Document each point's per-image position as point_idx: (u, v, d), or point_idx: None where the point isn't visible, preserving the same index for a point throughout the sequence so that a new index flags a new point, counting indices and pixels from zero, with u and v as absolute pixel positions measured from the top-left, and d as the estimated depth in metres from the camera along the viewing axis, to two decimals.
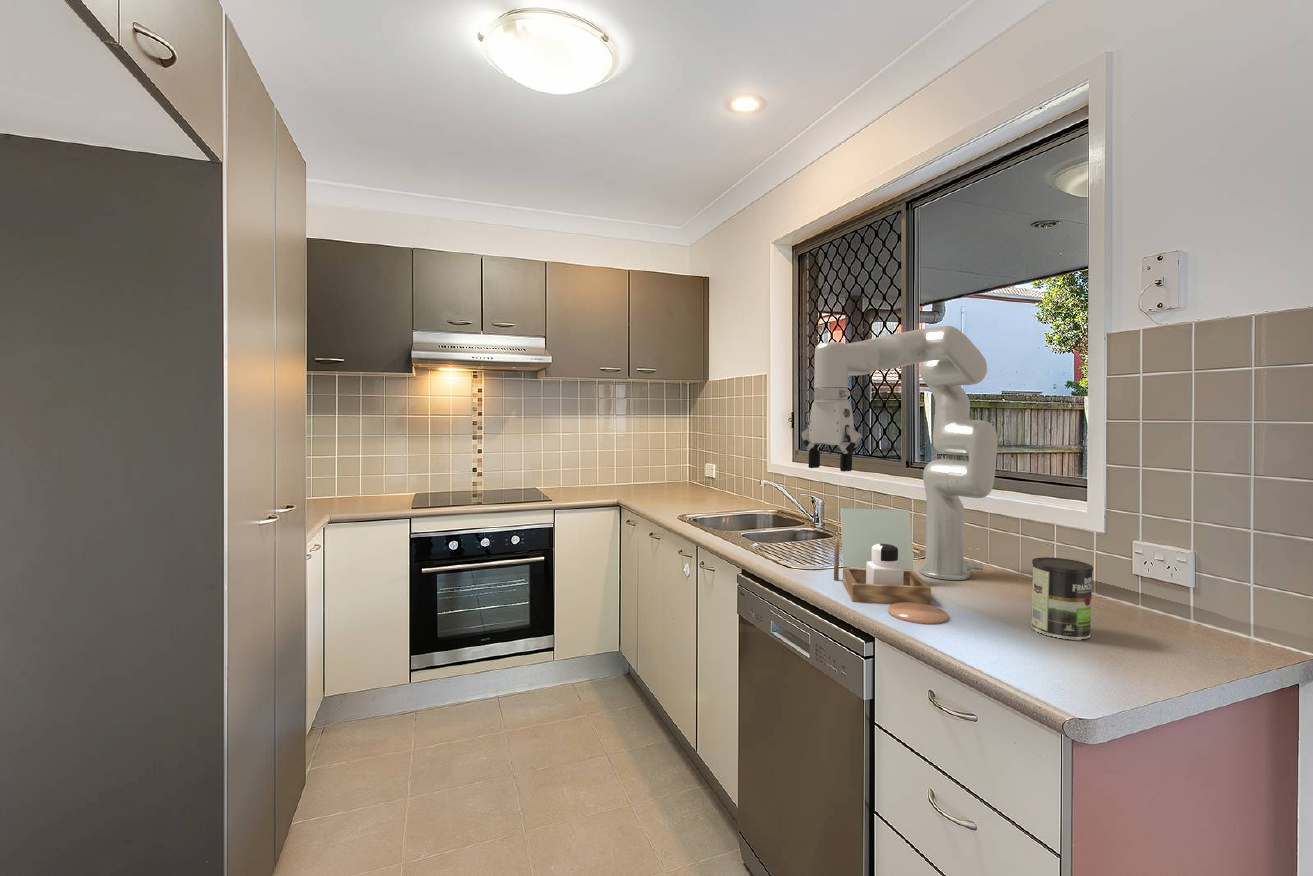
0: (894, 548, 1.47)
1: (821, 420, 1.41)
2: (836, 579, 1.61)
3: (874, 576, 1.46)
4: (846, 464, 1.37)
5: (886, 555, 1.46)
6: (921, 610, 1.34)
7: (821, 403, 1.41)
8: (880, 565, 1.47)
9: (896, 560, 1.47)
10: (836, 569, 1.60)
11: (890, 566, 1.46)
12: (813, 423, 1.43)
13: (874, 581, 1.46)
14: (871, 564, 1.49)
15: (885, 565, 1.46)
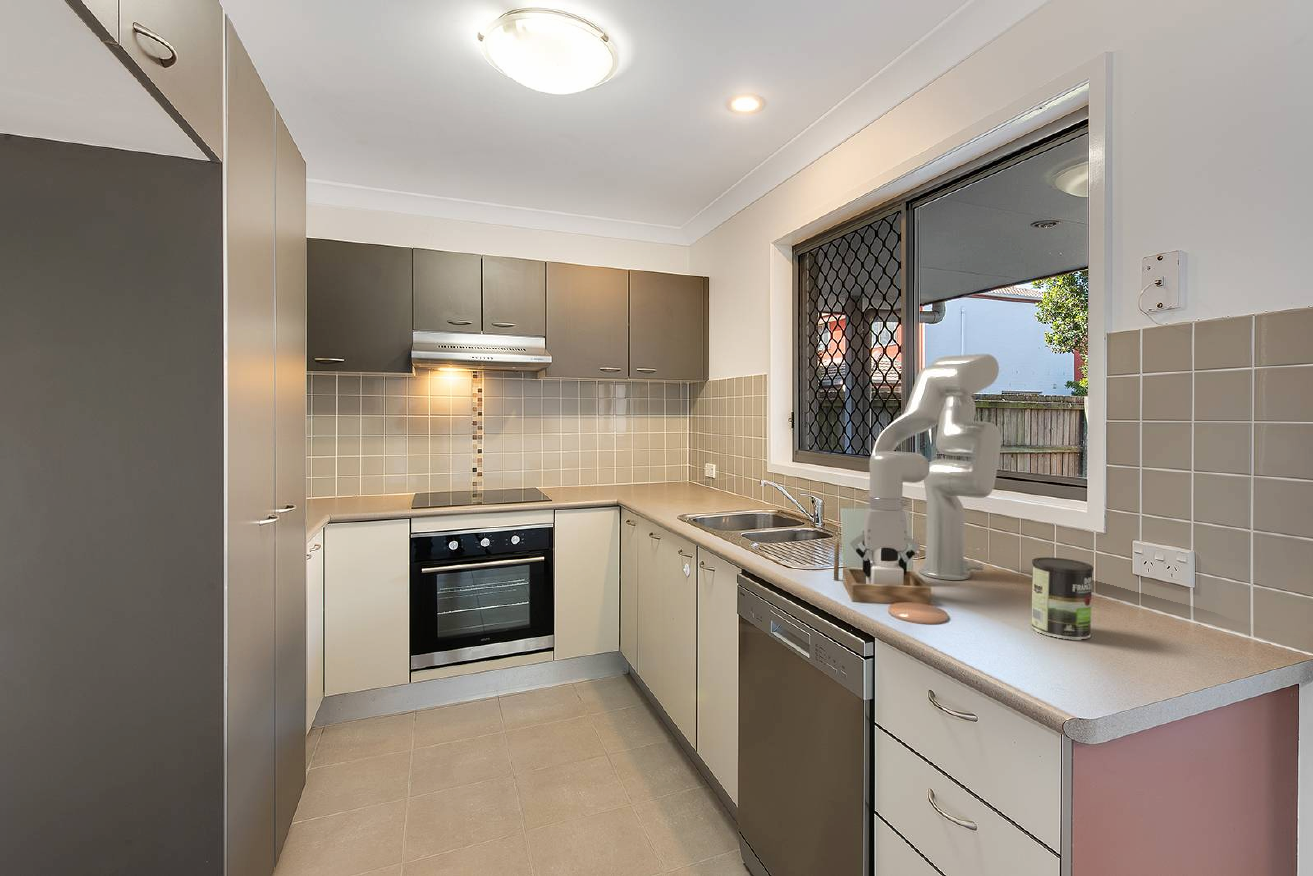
0: None
1: (885, 529, 1.46)
2: (836, 579, 1.61)
3: (874, 576, 1.46)
4: (905, 571, 1.47)
5: (886, 555, 1.46)
6: (921, 610, 1.34)
7: (885, 513, 1.46)
8: (880, 565, 1.47)
9: (896, 560, 1.47)
10: (836, 569, 1.60)
11: (890, 566, 1.46)
12: (873, 532, 1.47)
13: (874, 581, 1.46)
14: (871, 564, 1.49)
15: (885, 565, 1.46)
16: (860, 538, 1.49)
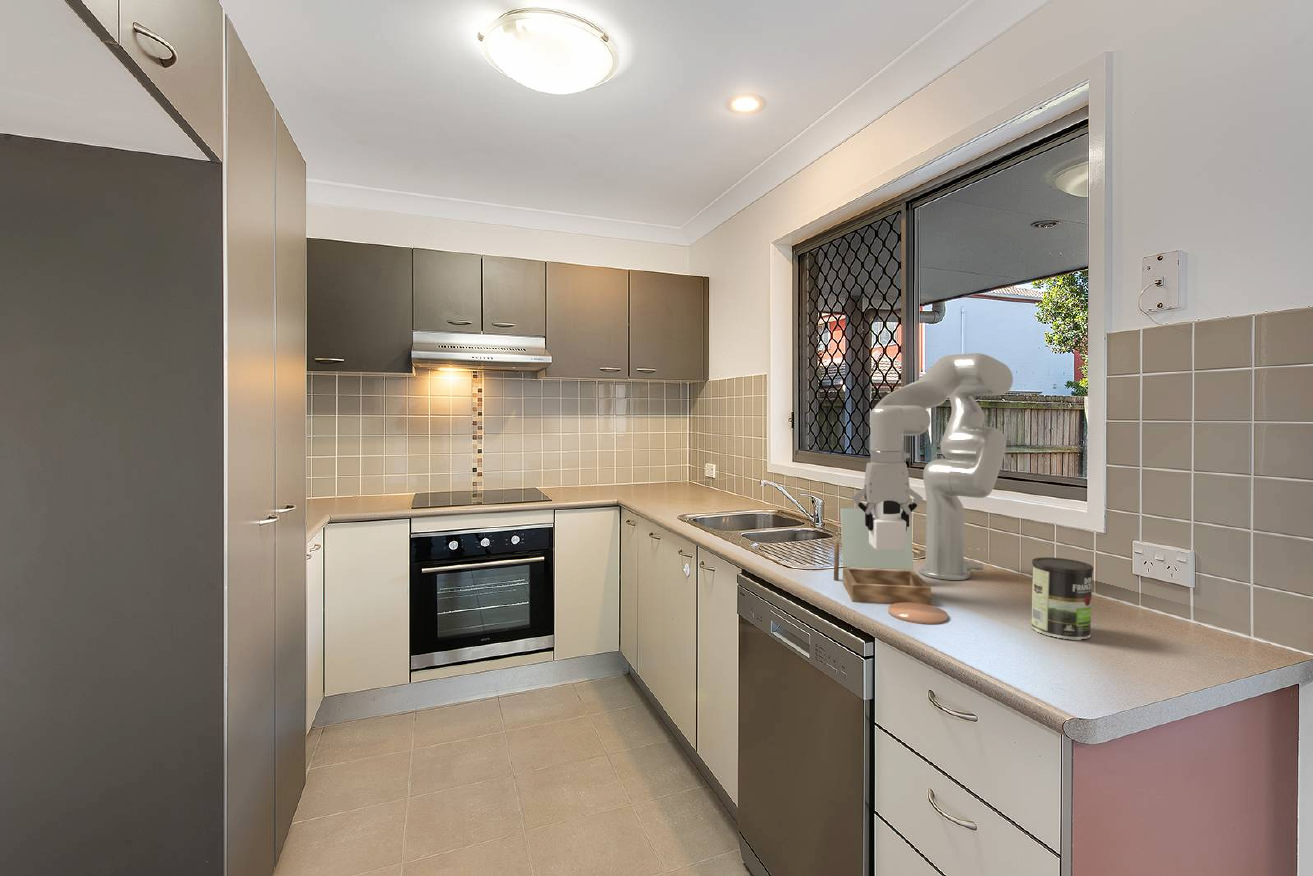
0: None
1: (887, 482, 1.46)
2: (836, 579, 1.61)
3: (877, 529, 1.46)
4: (908, 523, 1.47)
5: (888, 508, 1.46)
6: (921, 610, 1.34)
7: (887, 465, 1.45)
8: (883, 518, 1.47)
9: (898, 513, 1.46)
10: (836, 569, 1.60)
11: (893, 519, 1.46)
12: (875, 485, 1.46)
13: (877, 534, 1.46)
14: (873, 518, 1.49)
15: (888, 518, 1.46)
16: (862, 492, 1.49)
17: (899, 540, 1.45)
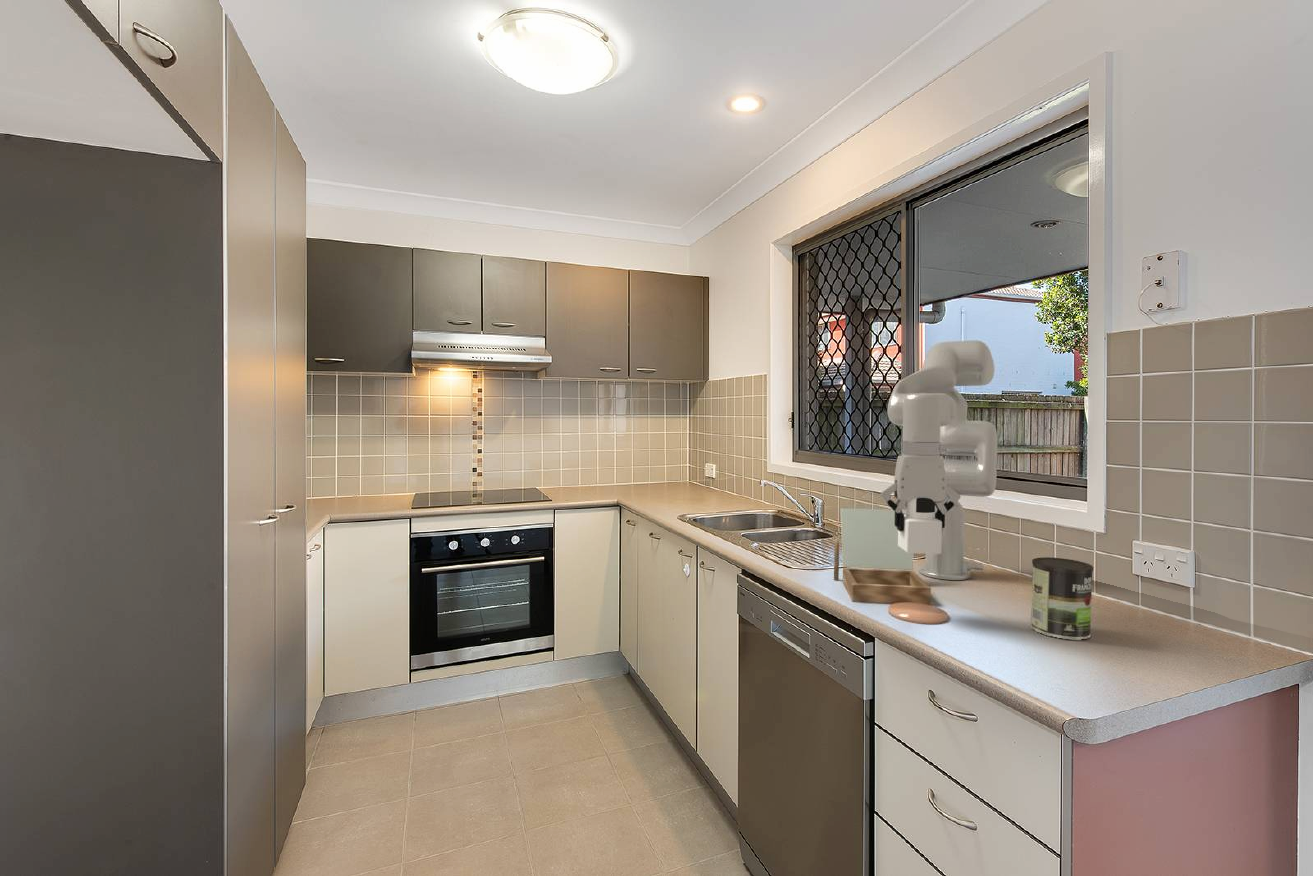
0: None
1: (921, 476, 1.30)
2: (836, 579, 1.61)
3: (909, 529, 1.30)
4: (943, 524, 1.31)
5: (922, 506, 1.30)
6: (921, 610, 1.34)
7: (921, 458, 1.30)
8: (915, 517, 1.31)
9: (933, 512, 1.31)
10: (836, 569, 1.60)
11: (926, 518, 1.30)
12: (908, 480, 1.31)
13: (909, 535, 1.30)
14: (904, 517, 1.33)
15: (921, 517, 1.30)
16: (892, 488, 1.33)
17: (934, 542, 1.29)
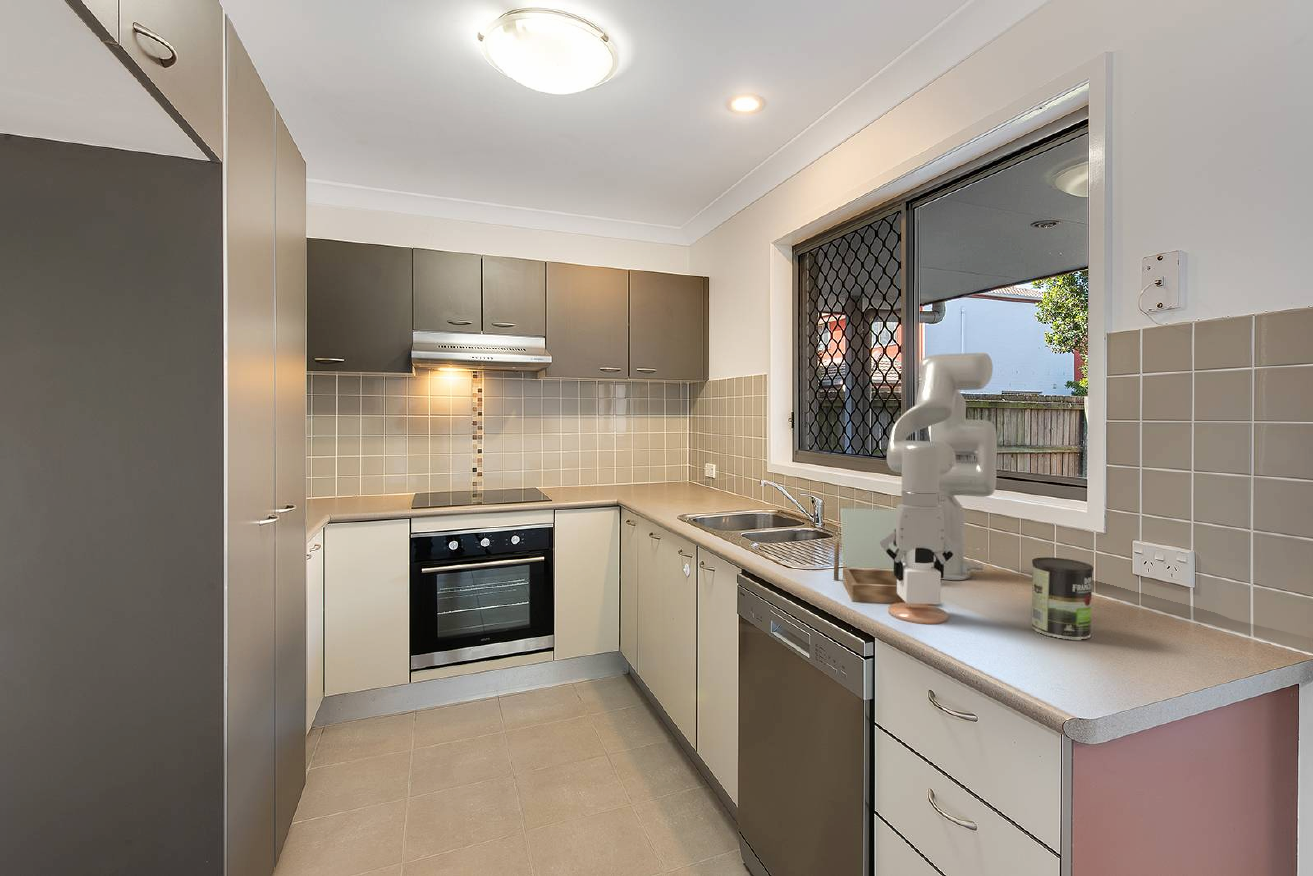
0: None
1: (920, 527, 1.30)
2: (836, 579, 1.61)
3: (908, 580, 1.30)
4: (942, 574, 1.32)
5: (921, 557, 1.30)
6: (921, 610, 1.34)
7: (920, 509, 1.30)
8: (914, 567, 1.31)
9: (932, 562, 1.31)
10: (836, 569, 1.60)
11: (925, 568, 1.30)
12: (907, 530, 1.31)
13: (908, 585, 1.30)
14: (903, 566, 1.33)
15: (920, 567, 1.31)
16: (891, 537, 1.33)
17: (933, 592, 1.30)
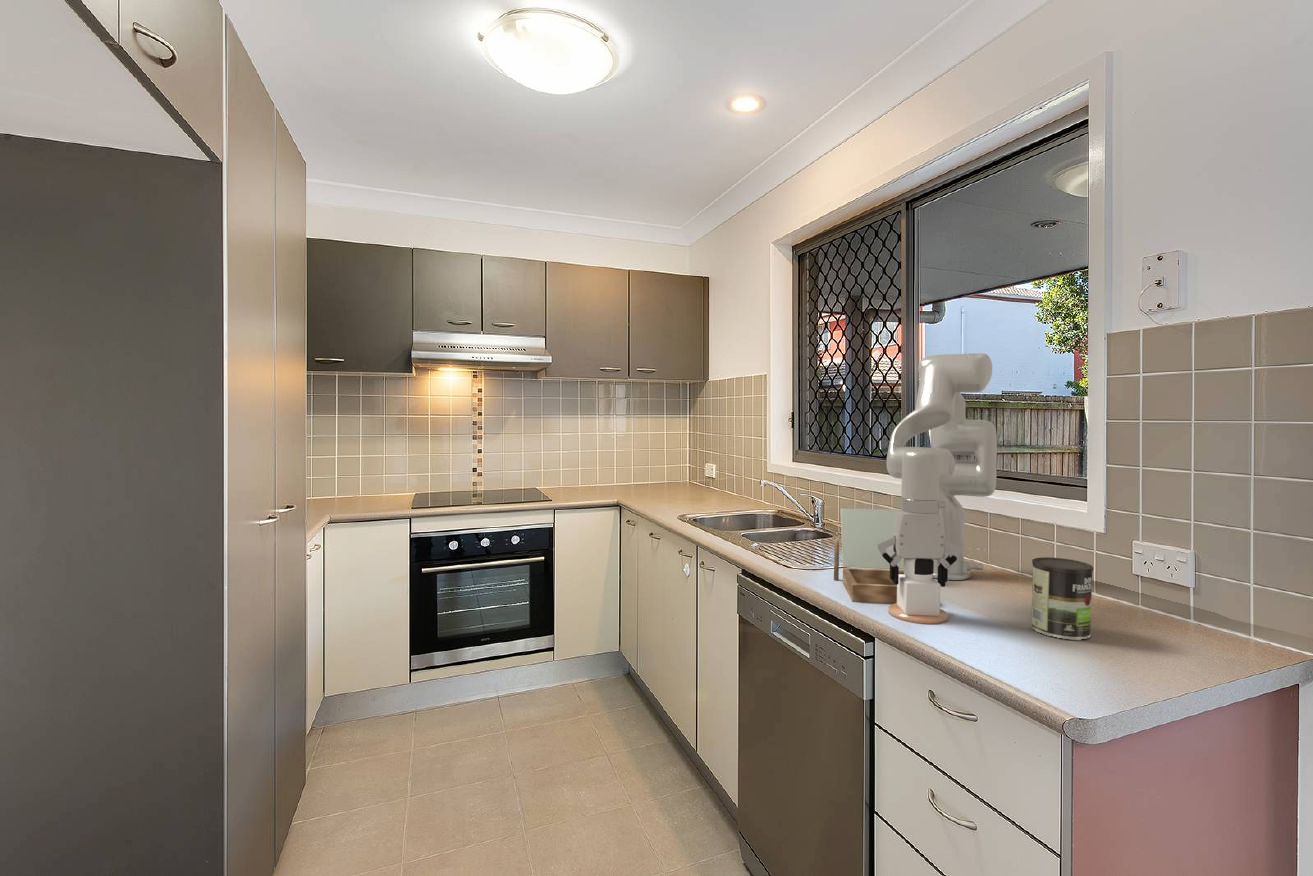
0: (929, 560, 1.31)
1: (920, 534, 1.30)
2: (836, 579, 1.61)
3: (907, 591, 1.30)
4: (946, 578, 1.32)
5: (920, 568, 1.30)
6: None
7: (920, 516, 1.30)
8: (914, 579, 1.32)
9: (932, 573, 1.31)
10: (836, 569, 1.60)
11: (925, 580, 1.31)
12: (906, 537, 1.31)
13: (907, 597, 1.31)
14: (903, 578, 1.34)
15: (919, 579, 1.31)
16: (890, 542, 1.33)
17: (932, 604, 1.30)
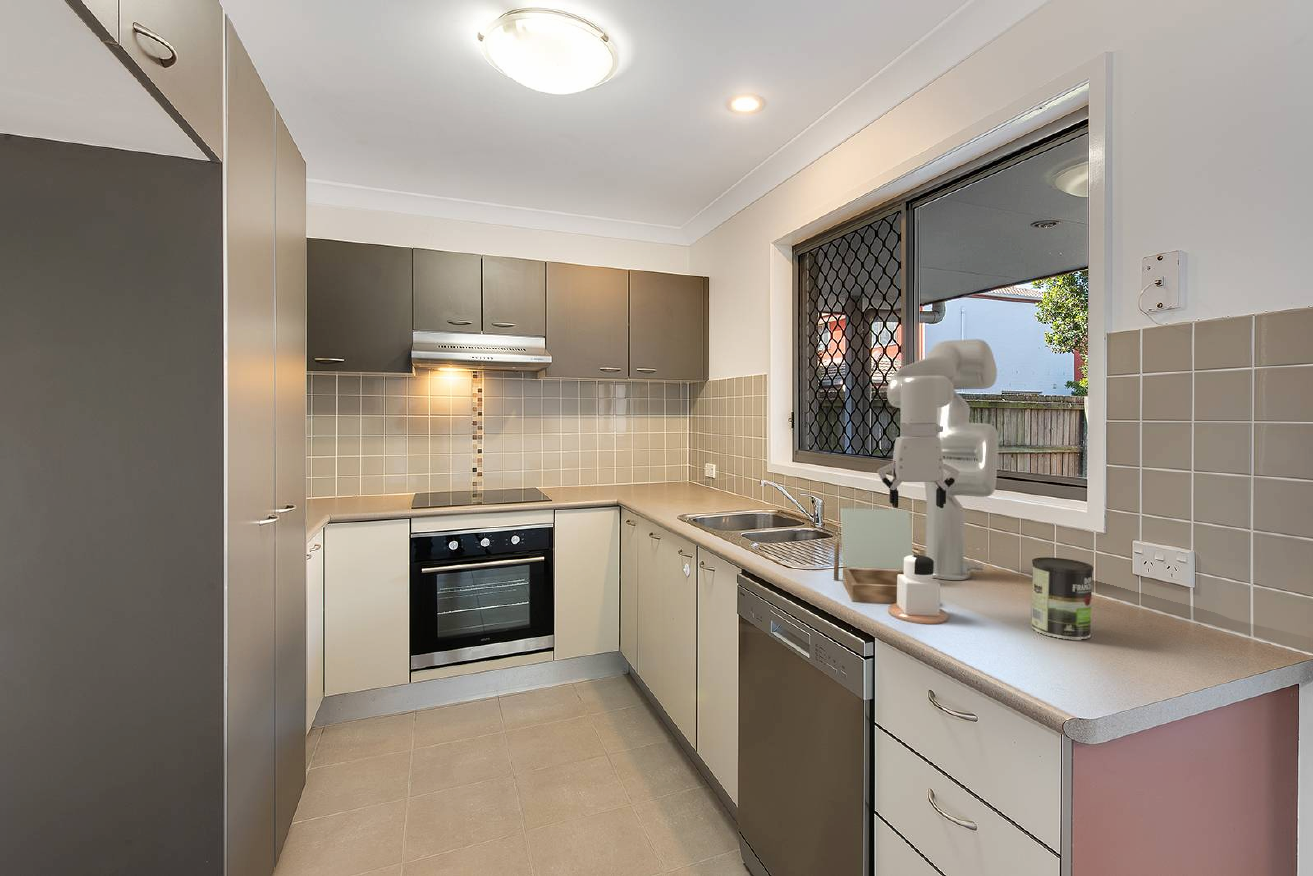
0: (929, 560, 1.31)
1: (919, 457, 1.34)
2: (836, 579, 1.61)
3: (907, 591, 1.30)
4: (944, 500, 1.36)
5: (920, 568, 1.30)
6: None
7: (919, 439, 1.34)
8: (914, 579, 1.31)
9: (932, 573, 1.31)
10: (836, 569, 1.60)
11: (925, 580, 1.31)
12: (906, 460, 1.35)
13: (907, 597, 1.31)
14: (903, 578, 1.34)
15: (919, 579, 1.31)
16: (890, 466, 1.37)
17: (932, 604, 1.30)
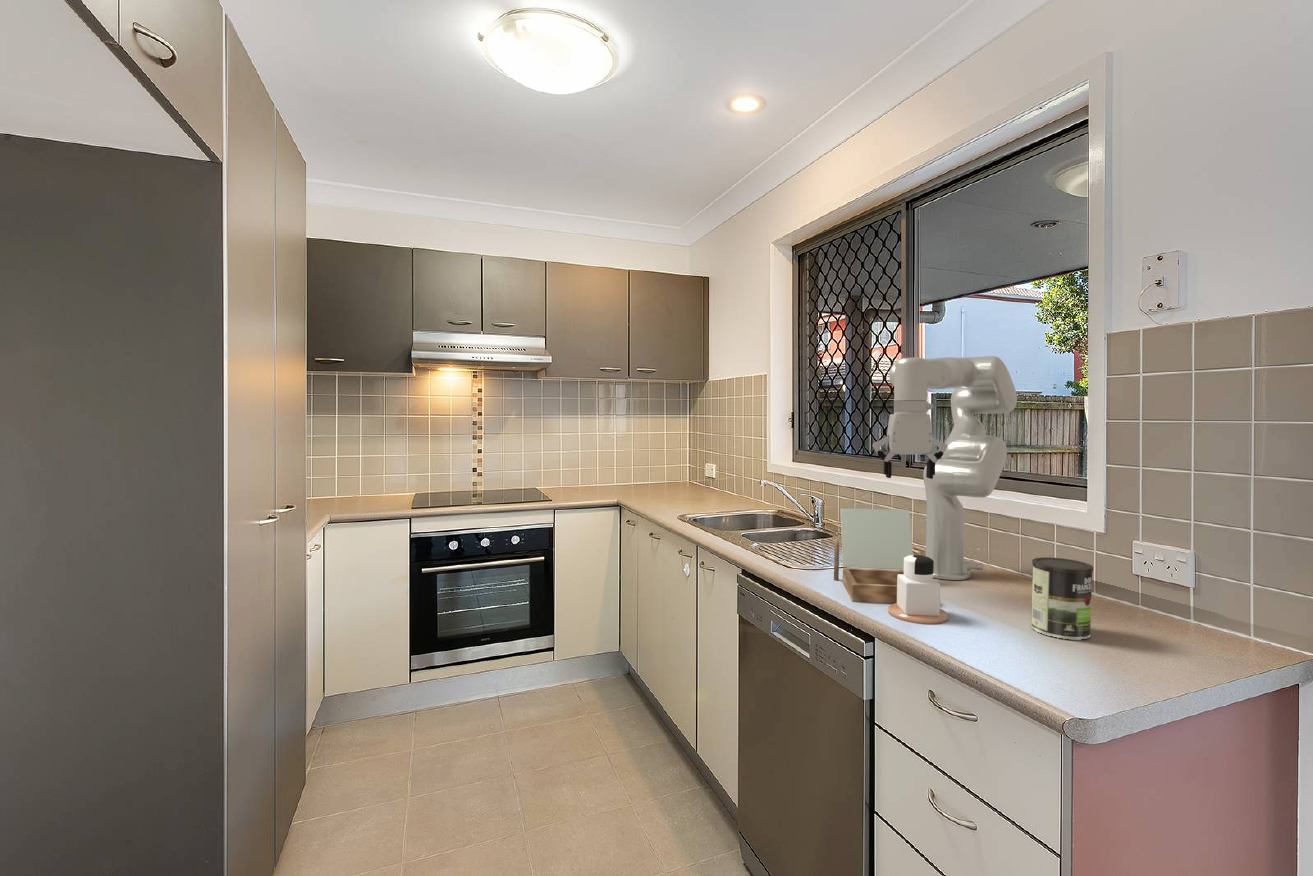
0: (929, 560, 1.31)
1: (910, 431, 1.47)
2: (836, 579, 1.61)
3: (907, 591, 1.30)
4: (934, 472, 1.48)
5: (920, 568, 1.30)
6: None
7: (910, 415, 1.47)
8: (914, 579, 1.32)
9: (932, 573, 1.31)
10: (836, 569, 1.60)
11: (925, 580, 1.31)
12: (898, 434, 1.48)
13: (907, 597, 1.31)
14: (903, 578, 1.34)
15: (919, 579, 1.31)
16: (884, 440, 1.50)
17: (932, 604, 1.30)
